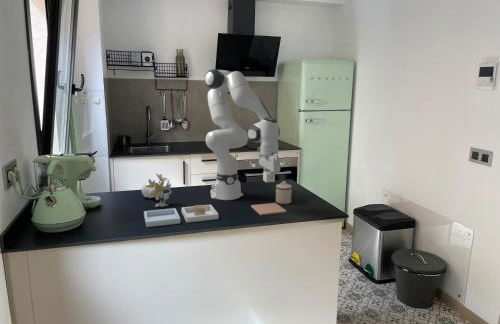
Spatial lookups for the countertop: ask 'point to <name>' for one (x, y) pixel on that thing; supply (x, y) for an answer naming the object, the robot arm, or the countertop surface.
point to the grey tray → (190, 217)
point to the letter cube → (268, 177)
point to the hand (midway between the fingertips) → (268, 177)
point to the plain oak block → (199, 210)
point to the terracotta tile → (268, 208)
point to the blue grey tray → (161, 217)
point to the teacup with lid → (283, 193)
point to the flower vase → (157, 190)
